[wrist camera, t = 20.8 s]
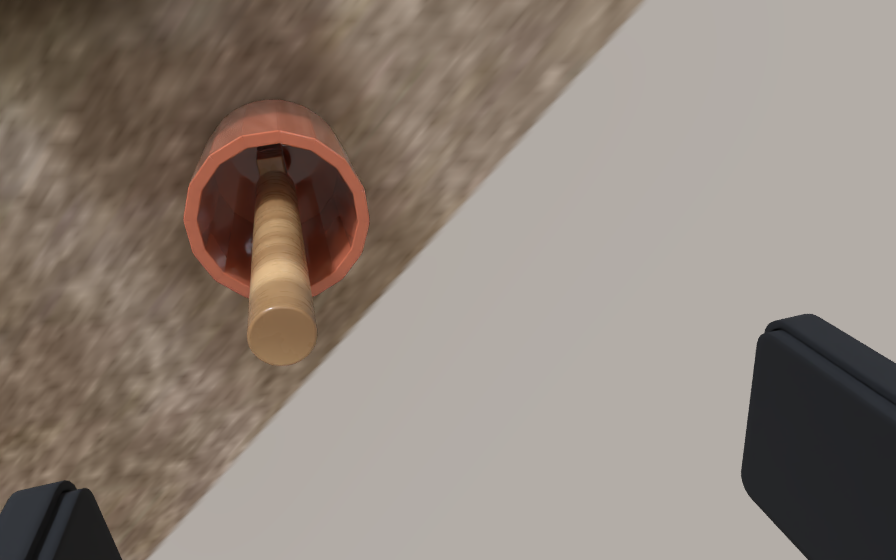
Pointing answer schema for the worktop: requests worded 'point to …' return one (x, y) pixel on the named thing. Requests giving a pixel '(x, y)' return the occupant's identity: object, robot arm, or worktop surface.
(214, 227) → the crock
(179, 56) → the worktop surface
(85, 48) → the worktop surface
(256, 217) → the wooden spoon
